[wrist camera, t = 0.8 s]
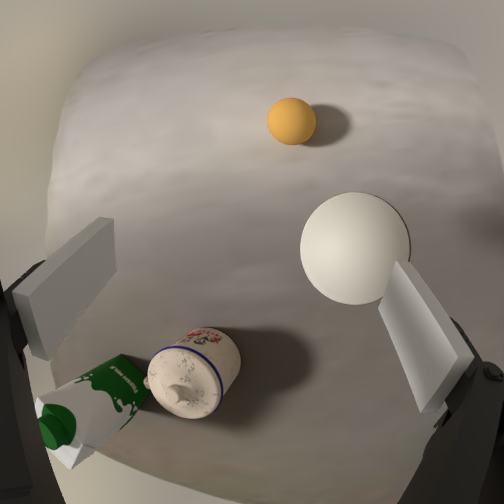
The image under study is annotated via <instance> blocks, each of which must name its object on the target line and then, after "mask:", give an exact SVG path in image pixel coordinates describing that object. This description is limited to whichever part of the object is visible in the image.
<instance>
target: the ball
mask: <svg viewBox="0 0 504 504" xmlns="http://www.w3.org/2000/svg"><path fill="white" fill-rule="evenodd" d="M267 124H268V128H269V131H270V133H271V134H272V136H273V137H274V138H275V139H276V140H278V141H279V142H281V143H284V144H287V145H298V144H301V143H303V142H305V141H307V140H308V139H309V138H310V137H311V136H312V134H313V133H314V131H315V128H316V116H315V113H314V111H313V109H312V108H311V107H310V106H309V105H308V104H307V103H306V102H304V101H302V100H300V99H297V98H285V99H282V100H280V101H278V102H277V103H275V104H274V105H273V106H272V108H271V109H270V111H269V113H268V117H267Z"/></svg>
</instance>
